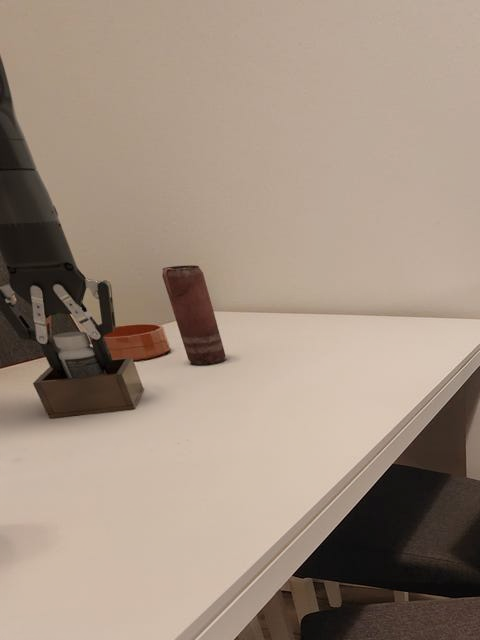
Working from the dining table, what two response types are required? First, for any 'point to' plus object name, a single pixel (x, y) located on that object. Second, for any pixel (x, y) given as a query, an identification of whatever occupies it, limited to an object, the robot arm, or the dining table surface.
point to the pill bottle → (77, 355)
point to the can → (194, 314)
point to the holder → (90, 390)
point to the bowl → (137, 341)
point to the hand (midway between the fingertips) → (84, 369)
